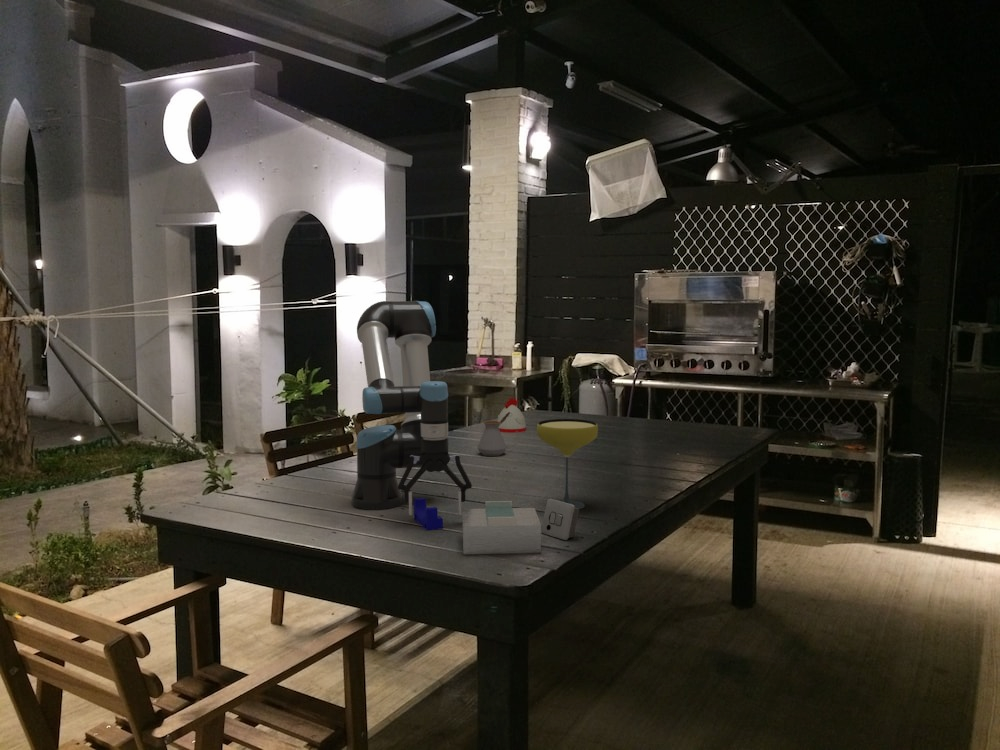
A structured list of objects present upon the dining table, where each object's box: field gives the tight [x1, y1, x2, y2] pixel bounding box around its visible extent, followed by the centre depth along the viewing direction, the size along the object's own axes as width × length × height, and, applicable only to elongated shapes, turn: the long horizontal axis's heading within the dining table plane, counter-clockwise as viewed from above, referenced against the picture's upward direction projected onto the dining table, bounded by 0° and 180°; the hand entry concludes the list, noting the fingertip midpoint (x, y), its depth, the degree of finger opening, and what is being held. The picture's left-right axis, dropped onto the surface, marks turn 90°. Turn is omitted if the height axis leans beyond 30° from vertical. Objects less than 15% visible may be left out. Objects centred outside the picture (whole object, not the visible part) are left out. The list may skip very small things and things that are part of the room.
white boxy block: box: [462, 500, 542, 555], centre depth 206 cm, size 19×16×9 cm
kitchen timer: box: [496, 397, 527, 434], centre depth 376 cm, size 14×14×15 cm
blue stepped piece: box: [413, 497, 444, 531], centre depth 224 cm, size 12×4×6 cm, turn 23°
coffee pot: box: [477, 412, 512, 457], centre depth 324 cm, size 21×12×15 cm, turn 152°
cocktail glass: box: [536, 418, 599, 510], centre depth 242 cm, size 18×18×25 cm
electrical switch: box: [541, 498, 580, 541], centre depth 214 cm, size 9×5×9 cm, turn 42°
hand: (435, 513), depth 225 cm, fingers open, 13 cm apart
